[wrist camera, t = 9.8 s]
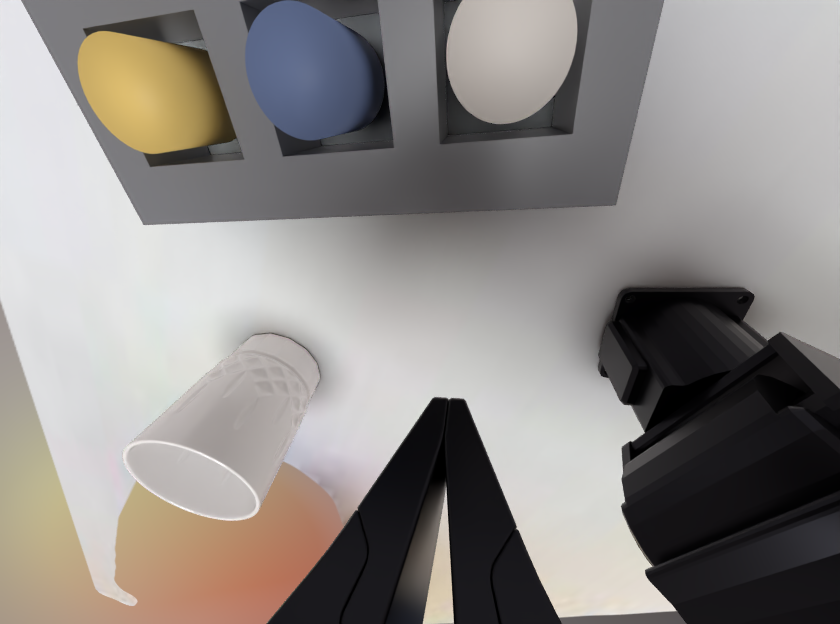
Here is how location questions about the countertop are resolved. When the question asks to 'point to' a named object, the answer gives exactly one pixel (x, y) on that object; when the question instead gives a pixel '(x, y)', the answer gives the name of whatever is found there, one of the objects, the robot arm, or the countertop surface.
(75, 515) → the countertop surface
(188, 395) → the white cup
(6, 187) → the countertop surface
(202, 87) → the ochre key
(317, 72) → the navy key
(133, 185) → the key block
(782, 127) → the countertop surface
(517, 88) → the white key
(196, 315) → the countertop surface
